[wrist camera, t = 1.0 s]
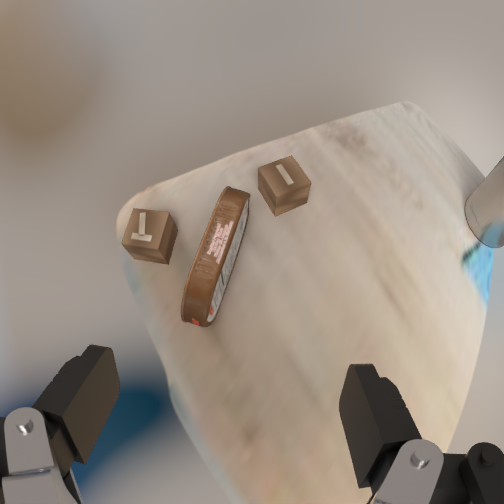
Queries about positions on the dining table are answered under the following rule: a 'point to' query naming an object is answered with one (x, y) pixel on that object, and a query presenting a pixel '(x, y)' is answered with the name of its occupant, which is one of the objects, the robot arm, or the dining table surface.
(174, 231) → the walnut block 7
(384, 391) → the robot arm
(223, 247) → the tin
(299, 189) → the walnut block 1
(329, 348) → the dining table surface
